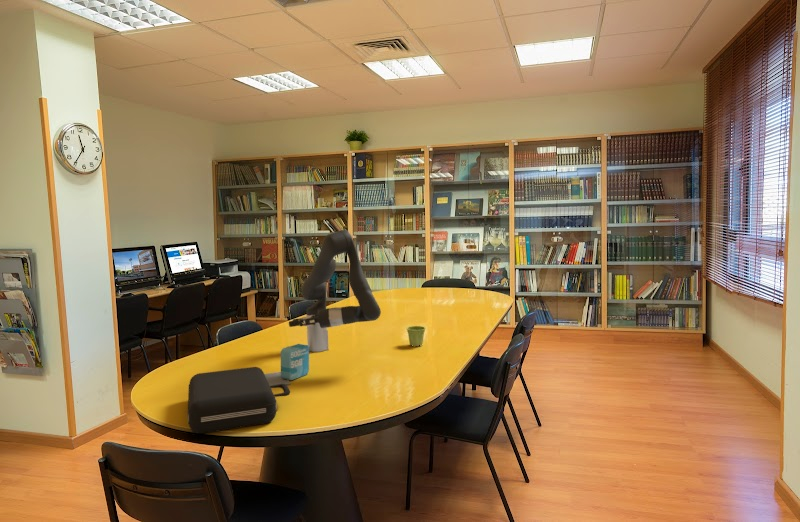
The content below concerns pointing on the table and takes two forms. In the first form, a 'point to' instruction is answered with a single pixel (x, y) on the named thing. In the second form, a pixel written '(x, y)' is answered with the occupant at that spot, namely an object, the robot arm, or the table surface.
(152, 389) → the table surface
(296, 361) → the data package
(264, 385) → the briefcase
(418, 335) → the plant pot
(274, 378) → the mat
